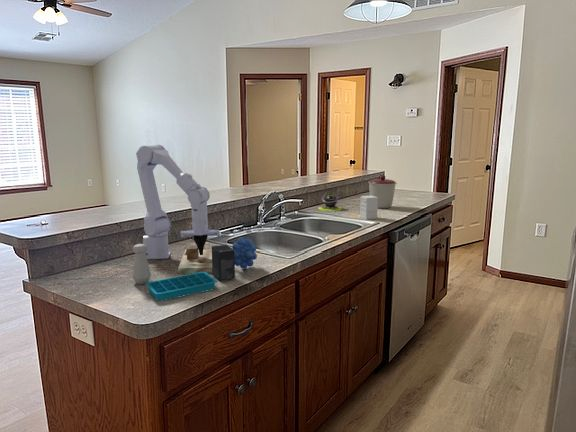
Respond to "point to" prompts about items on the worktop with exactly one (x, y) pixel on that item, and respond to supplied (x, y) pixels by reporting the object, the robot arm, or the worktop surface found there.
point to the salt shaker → (141, 265)
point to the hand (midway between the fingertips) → (201, 254)
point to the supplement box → (368, 207)
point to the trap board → (196, 263)
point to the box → (223, 262)
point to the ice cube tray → (181, 285)
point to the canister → (382, 191)
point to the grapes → (244, 253)
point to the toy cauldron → (330, 203)
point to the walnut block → (192, 252)
